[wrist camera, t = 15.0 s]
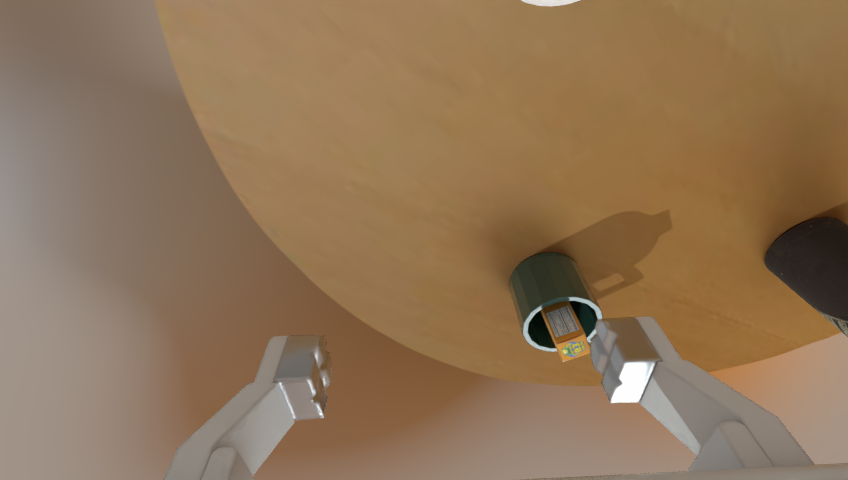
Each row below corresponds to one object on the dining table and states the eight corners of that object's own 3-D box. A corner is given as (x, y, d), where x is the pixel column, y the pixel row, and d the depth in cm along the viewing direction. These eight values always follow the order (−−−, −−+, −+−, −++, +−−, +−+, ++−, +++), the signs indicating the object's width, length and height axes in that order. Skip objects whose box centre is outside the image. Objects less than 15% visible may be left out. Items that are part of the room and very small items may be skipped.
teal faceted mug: (495, 282, 50) (506, 328, 44) (549, 240, 46) (570, 284, 40) (553, 325, 55) (571, 372, 48) (607, 289, 51) (634, 335, 45)
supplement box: (563, 288, 50) (592, 355, 42) (535, 297, 50) (559, 364, 42) (556, 269, 48) (586, 335, 40) (528, 279, 49) (551, 345, 40)
